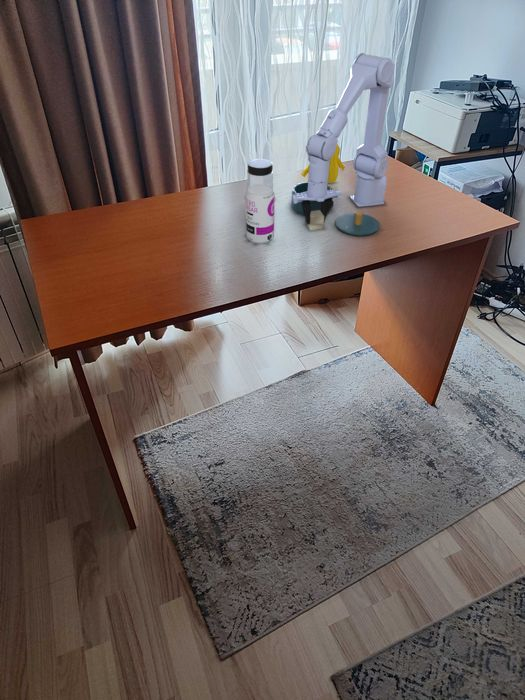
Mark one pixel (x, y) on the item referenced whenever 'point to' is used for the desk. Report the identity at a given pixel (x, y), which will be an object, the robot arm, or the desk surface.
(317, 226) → the block
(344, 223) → the lid
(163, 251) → the desk surface
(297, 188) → the tin
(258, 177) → the jar
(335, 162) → the figure statuette
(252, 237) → the supplement can
